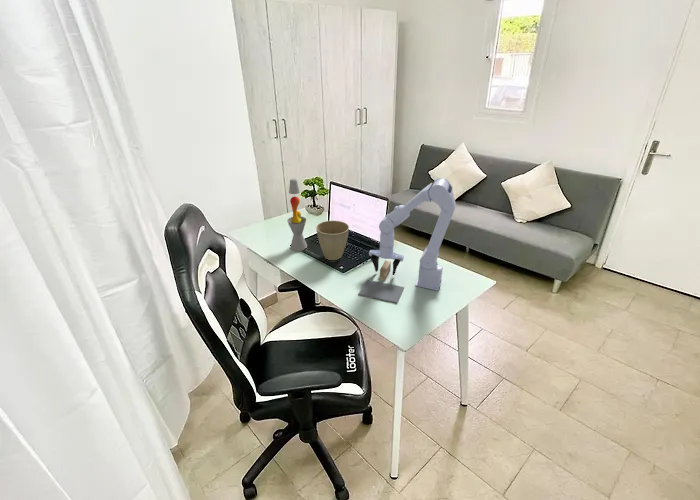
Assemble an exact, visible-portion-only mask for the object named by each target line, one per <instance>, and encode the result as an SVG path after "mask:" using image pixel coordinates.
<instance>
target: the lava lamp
mask: <svg viewBox="0 0 700 500" xmlns="http://www.w3.org/2000/svg"><path fill="white" fill-rule="evenodd" d="M288 190H289V194H290V195H297V194H300V193H301V191H300V187H299V183H298V179H297V178H290V180H289V189H288ZM289 202H290V205H291V209H292V210H291V211H292V217H289V218H287V223H288V226H289V228H290V230H291V233H292V234H293V235H292V240H291V244H290V248H289V249H290V251H291V252H294V253H295V252H298V253H300V252H303V251H302V250H304V249H305V248H307V246H308V243H307V242H306V239H305V237H304V235H303V232H304V229H305V226H306V222H307V218H306V217H304V216H302V213H301V211H299V210H298V207H299V205H300V204H301V203H300V202H301V200H300V198H299V197H298V196H293V197H290V200H289ZM307 249H308V248H307Z"/></svg>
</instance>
